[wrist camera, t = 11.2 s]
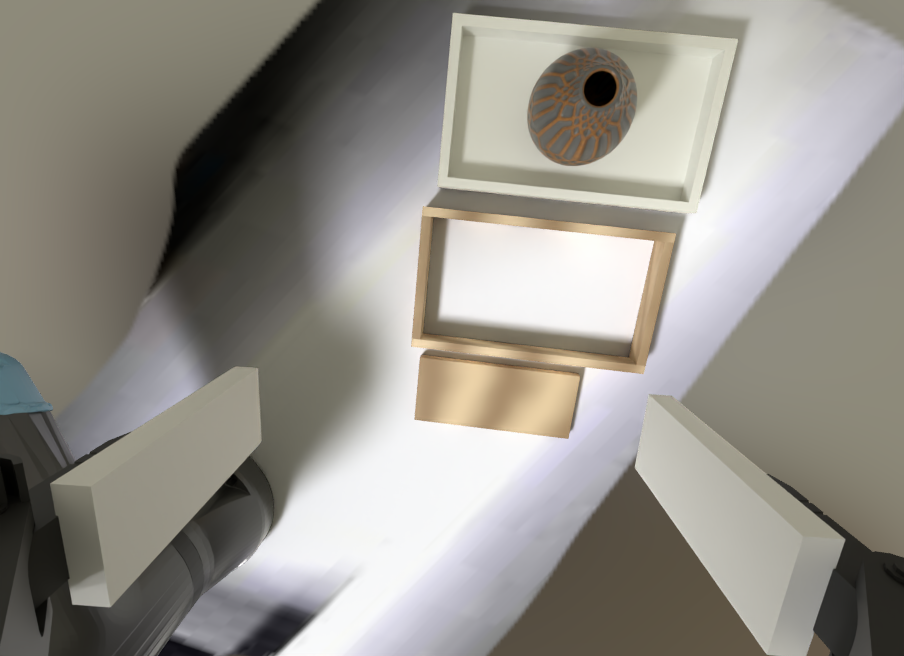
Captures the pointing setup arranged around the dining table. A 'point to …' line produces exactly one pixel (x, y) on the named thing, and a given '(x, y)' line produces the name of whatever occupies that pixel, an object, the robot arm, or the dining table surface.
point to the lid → (496, 396)
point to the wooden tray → (542, 354)
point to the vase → (582, 106)
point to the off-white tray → (626, 167)
